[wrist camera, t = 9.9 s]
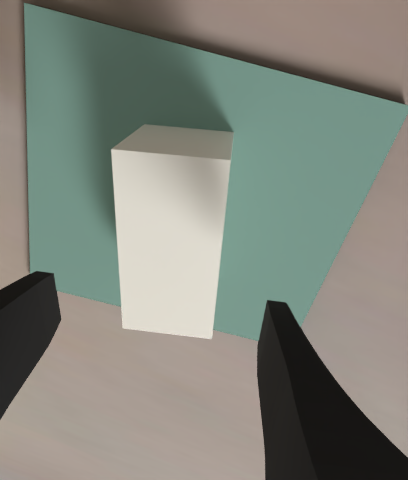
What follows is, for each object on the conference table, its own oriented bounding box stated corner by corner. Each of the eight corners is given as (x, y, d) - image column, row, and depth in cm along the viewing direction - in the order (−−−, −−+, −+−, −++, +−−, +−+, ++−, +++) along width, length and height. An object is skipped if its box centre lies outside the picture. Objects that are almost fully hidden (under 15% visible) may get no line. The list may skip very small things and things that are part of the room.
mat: (405, 104, 16) (411, 106, 16) (288, 342, 24) (289, 348, 24) (31, 4, 16) (23, 2, 15) (34, 278, 24) (30, 284, 23)
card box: (218, 280, 22) (211, 339, 17) (147, 272, 22) (122, 328, 17) (233, 132, 17) (230, 160, 13) (144, 124, 17) (111, 149, 13)
